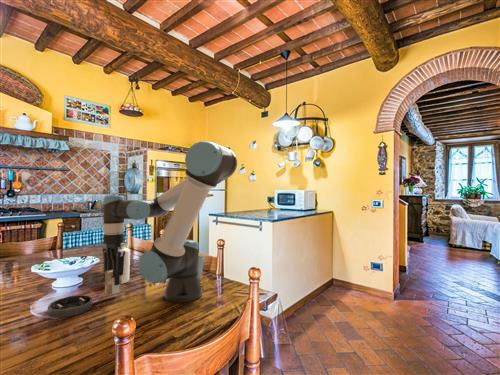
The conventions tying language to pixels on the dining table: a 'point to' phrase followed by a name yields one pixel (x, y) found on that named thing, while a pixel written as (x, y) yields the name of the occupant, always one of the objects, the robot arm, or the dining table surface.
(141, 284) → the dining table surface
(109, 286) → the tan rectangular block
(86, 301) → the tin
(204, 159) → the robot arm
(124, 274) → the potion bottle
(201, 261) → the cup
